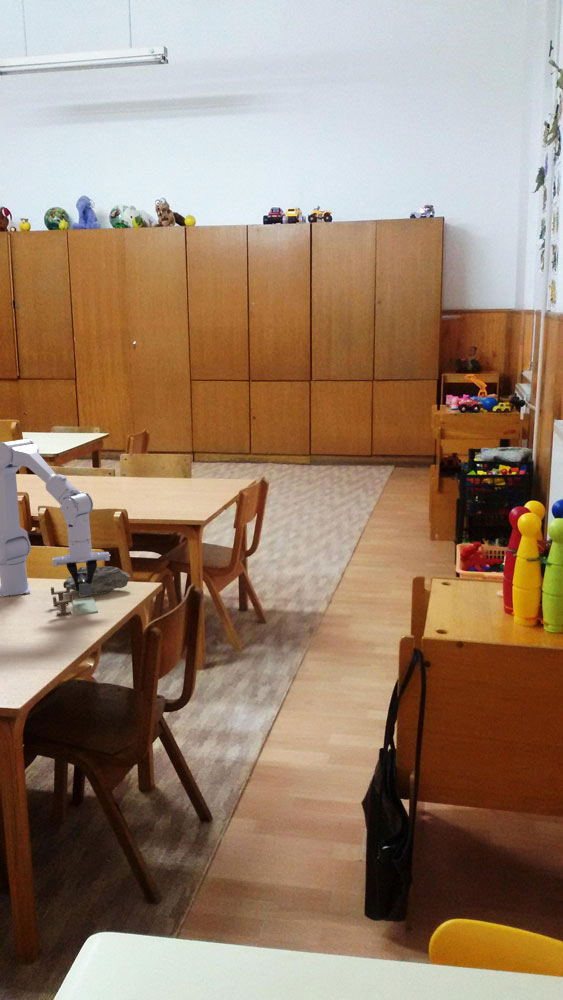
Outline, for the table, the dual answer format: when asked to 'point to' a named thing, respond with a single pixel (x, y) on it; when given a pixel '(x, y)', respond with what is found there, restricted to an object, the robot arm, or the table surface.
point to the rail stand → (62, 600)
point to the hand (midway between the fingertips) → (83, 589)
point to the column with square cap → (84, 584)
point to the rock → (102, 579)
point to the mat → (84, 606)
